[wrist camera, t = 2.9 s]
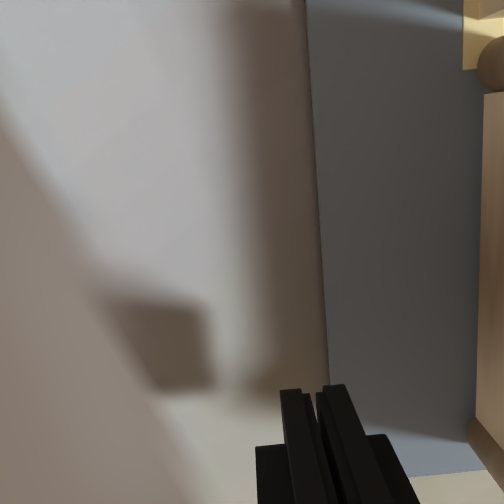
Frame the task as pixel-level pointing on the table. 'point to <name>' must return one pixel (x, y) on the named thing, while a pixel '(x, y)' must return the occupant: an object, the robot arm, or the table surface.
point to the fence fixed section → (491, 9)
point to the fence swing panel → (491, 273)
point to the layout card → (402, 215)
